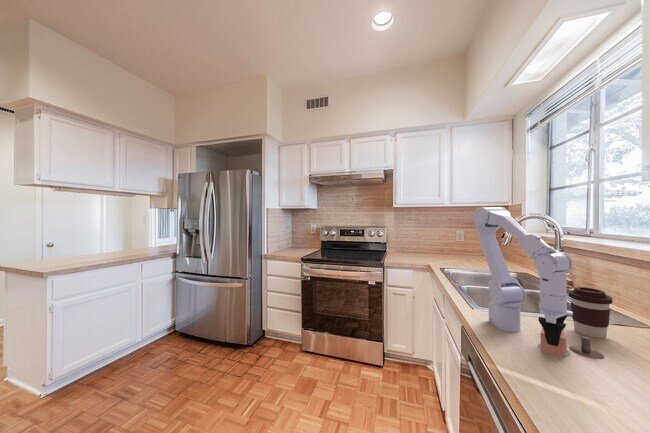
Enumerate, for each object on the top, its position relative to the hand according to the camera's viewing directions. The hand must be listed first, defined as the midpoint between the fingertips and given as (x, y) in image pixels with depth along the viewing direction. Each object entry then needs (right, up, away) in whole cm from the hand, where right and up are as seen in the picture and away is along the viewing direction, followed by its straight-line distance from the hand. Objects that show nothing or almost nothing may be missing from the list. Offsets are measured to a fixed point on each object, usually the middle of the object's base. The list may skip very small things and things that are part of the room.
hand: (553, 340), depth 71 cm
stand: (0, -4, 0) cm, 4 cm away
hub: (+8, -4, -1) cm, 9 cm away
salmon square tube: (0, -3, 0) cm, 3 cm away
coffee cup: (+21, -3, +10) cm, 24 cm away
